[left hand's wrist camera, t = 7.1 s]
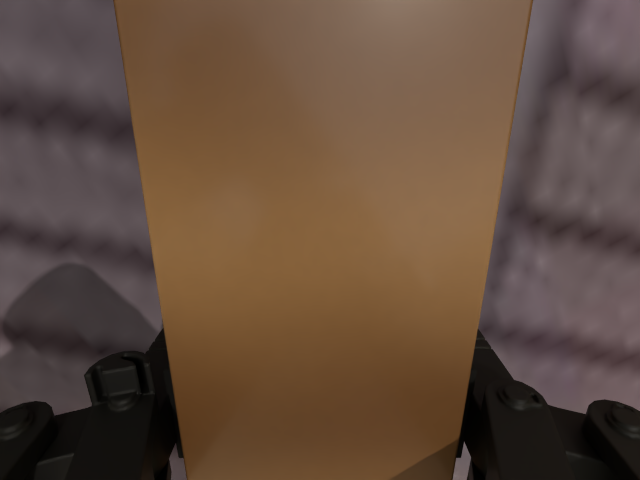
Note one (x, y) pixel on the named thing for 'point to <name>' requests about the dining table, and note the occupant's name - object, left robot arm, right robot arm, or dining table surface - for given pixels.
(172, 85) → the post
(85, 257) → the dining table surface
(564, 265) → the dining table surface
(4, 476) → the left robot arm
